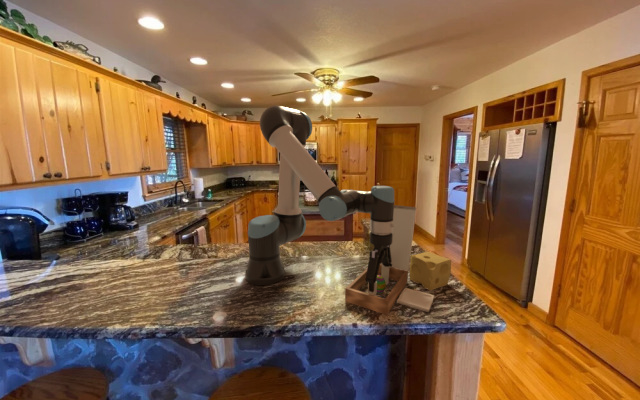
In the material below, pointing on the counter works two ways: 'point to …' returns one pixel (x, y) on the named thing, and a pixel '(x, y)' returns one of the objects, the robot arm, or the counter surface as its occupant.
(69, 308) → the counter surface
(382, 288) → the egg
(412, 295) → the dish
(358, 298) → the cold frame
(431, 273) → the cheese
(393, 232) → the lid
